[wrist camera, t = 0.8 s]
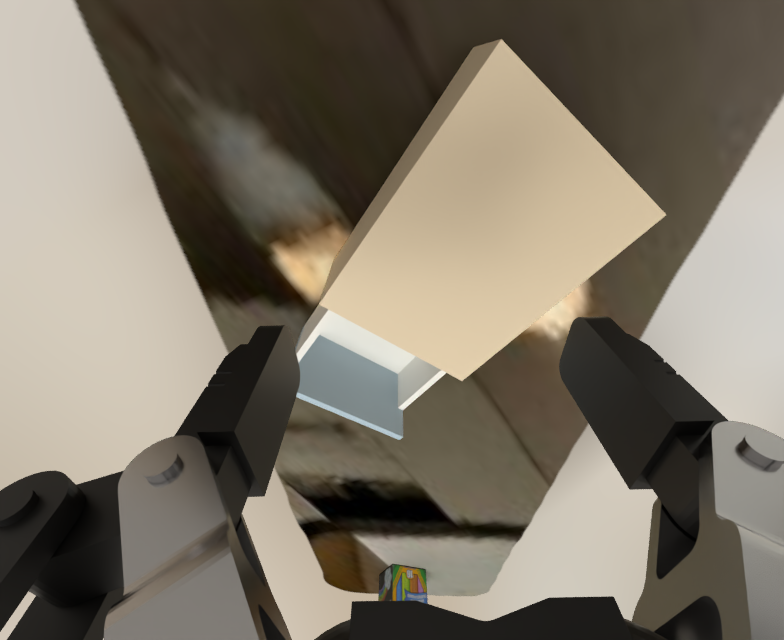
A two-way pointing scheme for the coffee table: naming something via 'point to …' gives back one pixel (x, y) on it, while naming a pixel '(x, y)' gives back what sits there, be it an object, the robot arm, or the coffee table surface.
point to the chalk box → (403, 584)
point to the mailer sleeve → (485, 220)
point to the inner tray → (359, 373)
